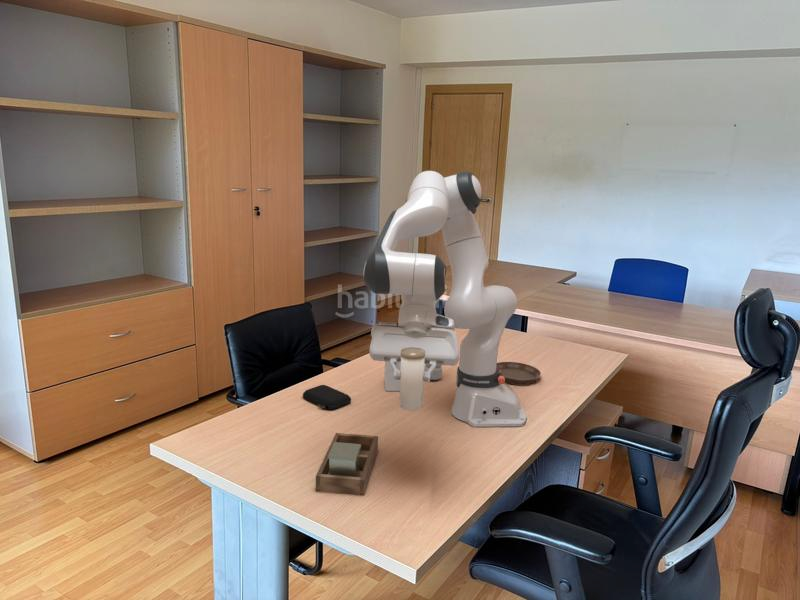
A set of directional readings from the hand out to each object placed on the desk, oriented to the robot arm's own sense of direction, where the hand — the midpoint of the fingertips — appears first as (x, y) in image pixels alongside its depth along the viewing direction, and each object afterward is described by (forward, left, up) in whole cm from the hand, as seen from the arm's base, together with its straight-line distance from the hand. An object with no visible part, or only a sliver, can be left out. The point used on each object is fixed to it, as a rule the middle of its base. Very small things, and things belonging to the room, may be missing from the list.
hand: (411, 379), depth 125 cm
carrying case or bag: (+30, -46, -28) cm, 61 cm away
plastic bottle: (-2, -70, -27) cm, 76 cm away
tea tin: (+15, 0, -26) cm, 30 cm away
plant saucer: (-31, -77, -28) cm, 88 cm away
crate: (+15, -5, -27) cm, 31 cm away
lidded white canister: (0, -1, -6) cm, 7 cm away
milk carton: (+10, -60, -27) cm, 67 cm away
